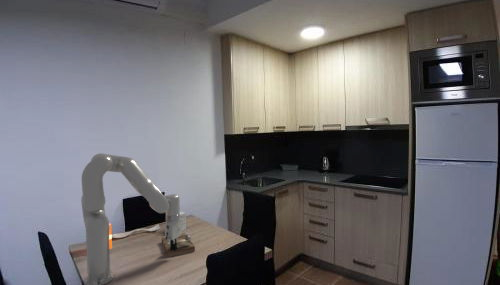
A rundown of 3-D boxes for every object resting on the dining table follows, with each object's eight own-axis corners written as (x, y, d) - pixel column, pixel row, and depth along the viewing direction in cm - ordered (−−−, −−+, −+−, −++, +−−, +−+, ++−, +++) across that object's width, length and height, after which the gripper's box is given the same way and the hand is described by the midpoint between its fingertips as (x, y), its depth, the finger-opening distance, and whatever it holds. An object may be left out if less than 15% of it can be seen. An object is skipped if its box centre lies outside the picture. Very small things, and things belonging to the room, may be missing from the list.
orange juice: (106, 244, 169) (104, 213, 169) (112, 248, 164) (111, 215, 163) (92, 248, 163) (91, 216, 163) (98, 252, 158) (97, 219, 157)
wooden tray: (194, 251, 157) (194, 241, 157) (168, 257, 150) (168, 246, 150) (185, 237, 178) (184, 228, 178) (161, 242, 172) (161, 232, 171)
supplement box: (171, 231, 191) (170, 213, 190) (178, 227, 197) (178, 210, 197) (179, 232, 187) (178, 214, 187) (186, 229, 194) (186, 212, 194)
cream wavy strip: (161, 231, 191) (161, 227, 190) (111, 241, 174) (111, 236, 174) (159, 228, 198) (159, 223, 198) (110, 237, 182) (110, 232, 182)
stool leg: (189, 243, 160) (189, 237, 160) (190, 245, 157) (190, 239, 157) (166, 248, 154) (166, 241, 154) (167, 250, 151) (167, 243, 151)
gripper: (170, 222, 140) (171, 256, 141) (186, 213, 154) (186, 245, 155) (158, 220, 143) (159, 254, 143) (174, 212, 157) (175, 243, 157)
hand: (173, 249), depth 149 cm, fingers closed
